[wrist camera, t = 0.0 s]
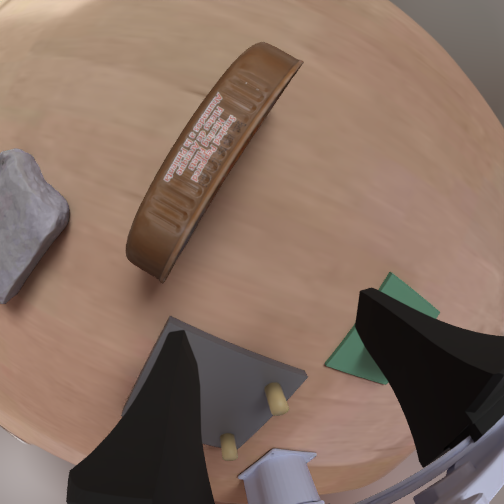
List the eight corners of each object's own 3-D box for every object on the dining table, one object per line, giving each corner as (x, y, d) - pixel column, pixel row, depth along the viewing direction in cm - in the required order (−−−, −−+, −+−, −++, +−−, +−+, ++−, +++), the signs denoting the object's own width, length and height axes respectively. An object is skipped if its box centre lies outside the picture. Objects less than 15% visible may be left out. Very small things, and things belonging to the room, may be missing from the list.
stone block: (-18, 226, 17) (20, 304, 18) (-48, 228, 12) (-11, 318, 13) (39, 138, 17) (85, 219, 18) (6, 125, 12) (50, 218, 13)
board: (382, 380, 28) (402, 404, 24) (322, 359, 25) (341, 391, 21) (435, 308, 27) (461, 327, 22) (386, 269, 24) (419, 289, 19)
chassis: (234, 444, 27) (239, 470, 23) (122, 409, 23) (116, 436, 19) (304, 370, 25) (318, 397, 21) (170, 315, 21) (164, 343, 17)
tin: (177, 260, 20) (160, 315, 12) (141, 240, 19) (101, 282, 11) (284, 91, 18) (332, 46, 10) (249, 69, 17) (276, 10, 9)
